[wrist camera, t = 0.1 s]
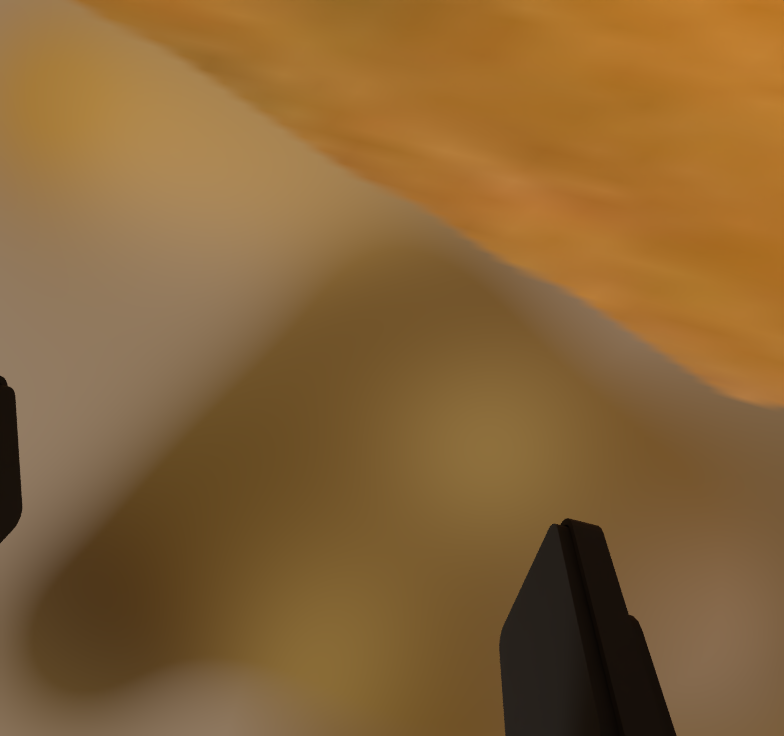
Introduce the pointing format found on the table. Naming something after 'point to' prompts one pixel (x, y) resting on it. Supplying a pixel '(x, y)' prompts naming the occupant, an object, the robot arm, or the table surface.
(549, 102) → the table surface
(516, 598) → the robot arm
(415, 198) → the table surface
